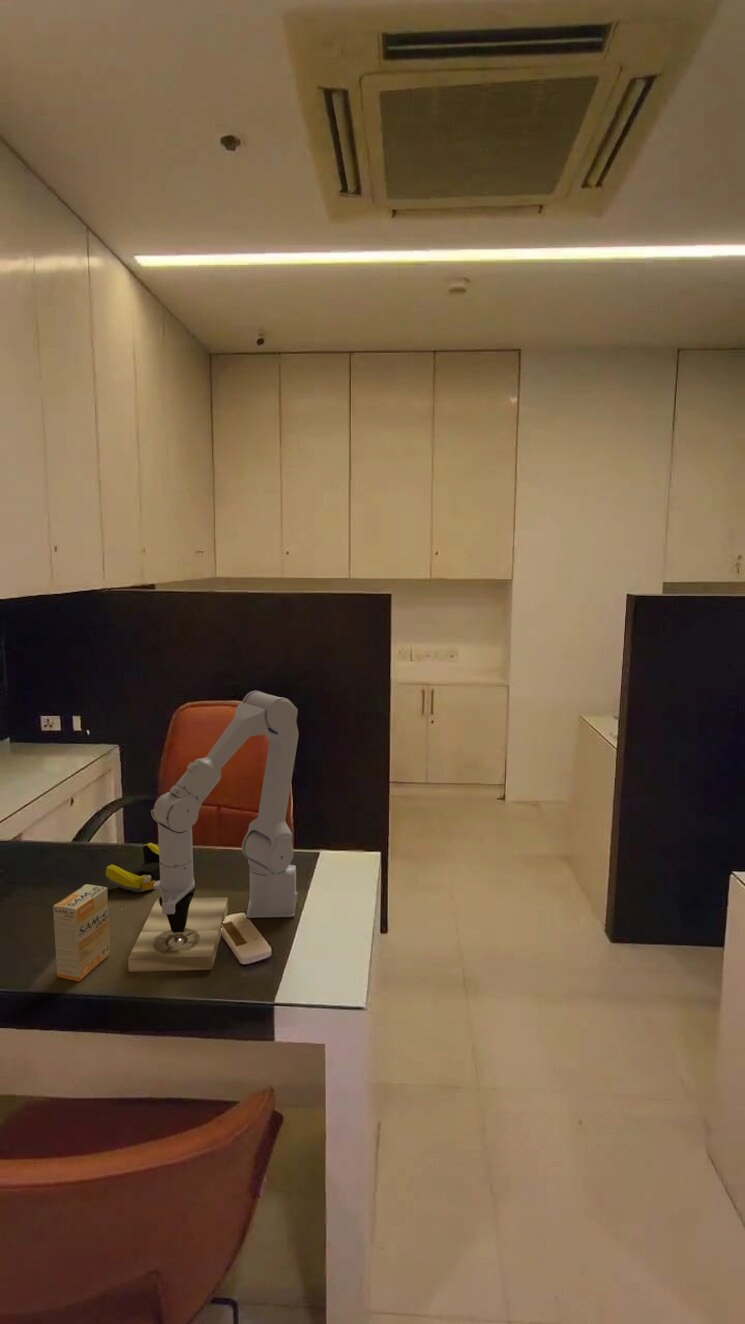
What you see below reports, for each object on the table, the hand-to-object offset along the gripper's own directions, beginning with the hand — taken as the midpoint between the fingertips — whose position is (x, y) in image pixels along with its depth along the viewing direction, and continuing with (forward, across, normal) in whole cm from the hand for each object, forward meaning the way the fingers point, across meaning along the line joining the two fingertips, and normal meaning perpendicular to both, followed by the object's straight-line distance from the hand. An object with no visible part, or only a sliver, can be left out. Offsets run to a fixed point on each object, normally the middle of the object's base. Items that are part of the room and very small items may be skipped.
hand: (178, 930), depth 122 cm
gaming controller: (+4, -26, -13) cm, 29 cm away
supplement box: (+3, +5, -15) cm, 16 cm away
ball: (+2, +2, 0) cm, 3 cm away
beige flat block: (+3, -3, 0) cm, 4 cm away
